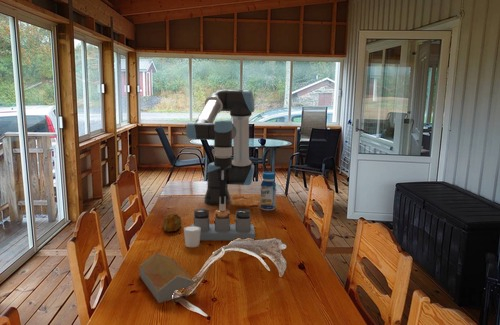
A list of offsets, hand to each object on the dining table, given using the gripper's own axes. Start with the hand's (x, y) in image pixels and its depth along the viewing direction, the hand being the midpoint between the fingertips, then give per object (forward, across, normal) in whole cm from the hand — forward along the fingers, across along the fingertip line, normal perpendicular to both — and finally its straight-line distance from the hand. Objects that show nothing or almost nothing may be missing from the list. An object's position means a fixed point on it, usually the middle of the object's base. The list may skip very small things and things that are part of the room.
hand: (222, 210), depth 169 cm
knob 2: (+8, 0, +9) cm, 12 cm away
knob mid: (+8, 0, 0) cm, 8 cm away
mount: (+11, 0, 0) cm, 11 cm away
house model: (+12, +45, -17) cm, 50 cm away
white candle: (+12, +11, -12) cm, 20 cm away
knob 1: (+8, 0, -9) cm, 12 cm away
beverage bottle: (+11, -42, +24) cm, 50 cm away
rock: (+12, -8, -23) cm, 27 cm away
